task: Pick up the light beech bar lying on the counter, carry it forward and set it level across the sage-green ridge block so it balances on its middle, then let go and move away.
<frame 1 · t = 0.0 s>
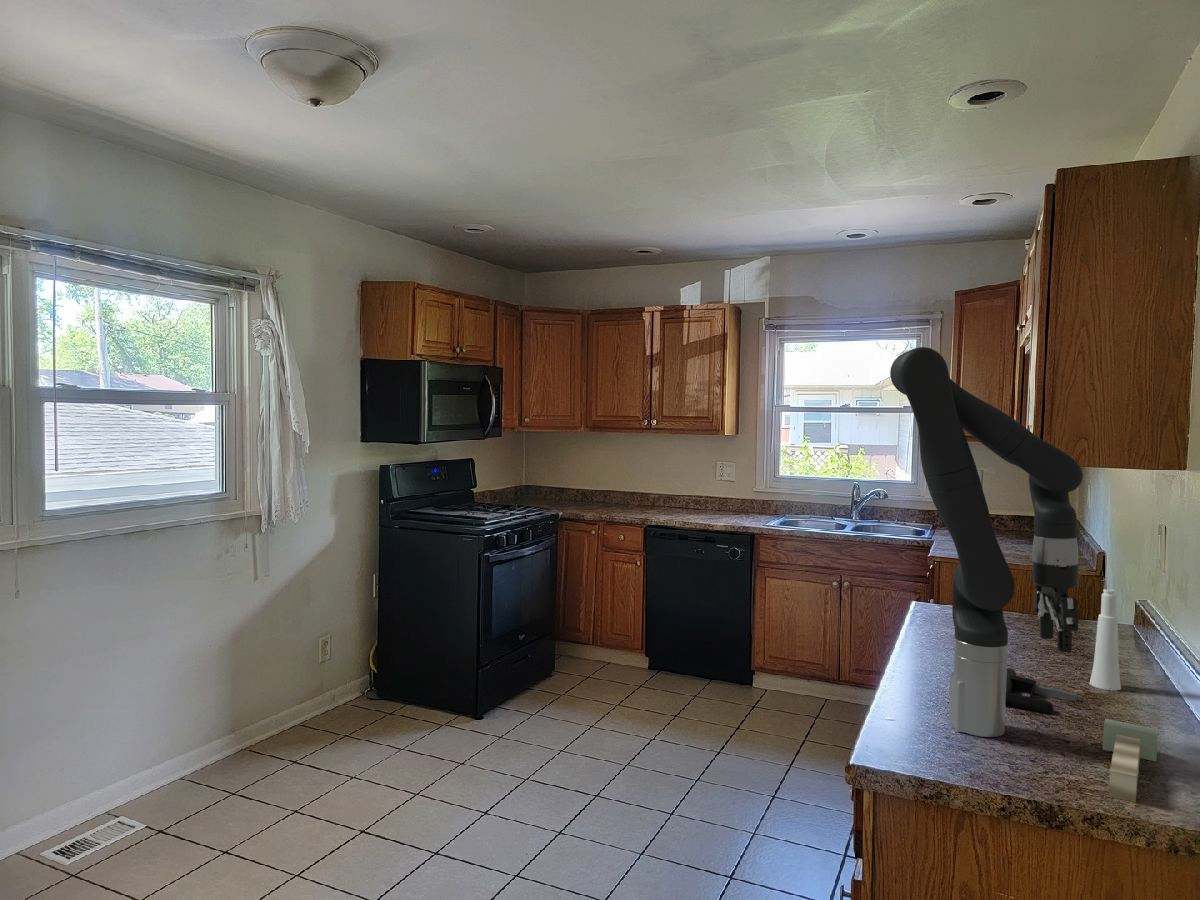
hand: (1055, 644, 149), 17 cm above the worktop, tool pointing down, fingers open, 8 cm apart
bar: (1124, 780, 131), on the worktop
cosmetic bottle: (1105, 687, 177), on the worktop
ridge: (1129, 750, 142), on the worktop
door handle: (1032, 699, 170), on the worktop
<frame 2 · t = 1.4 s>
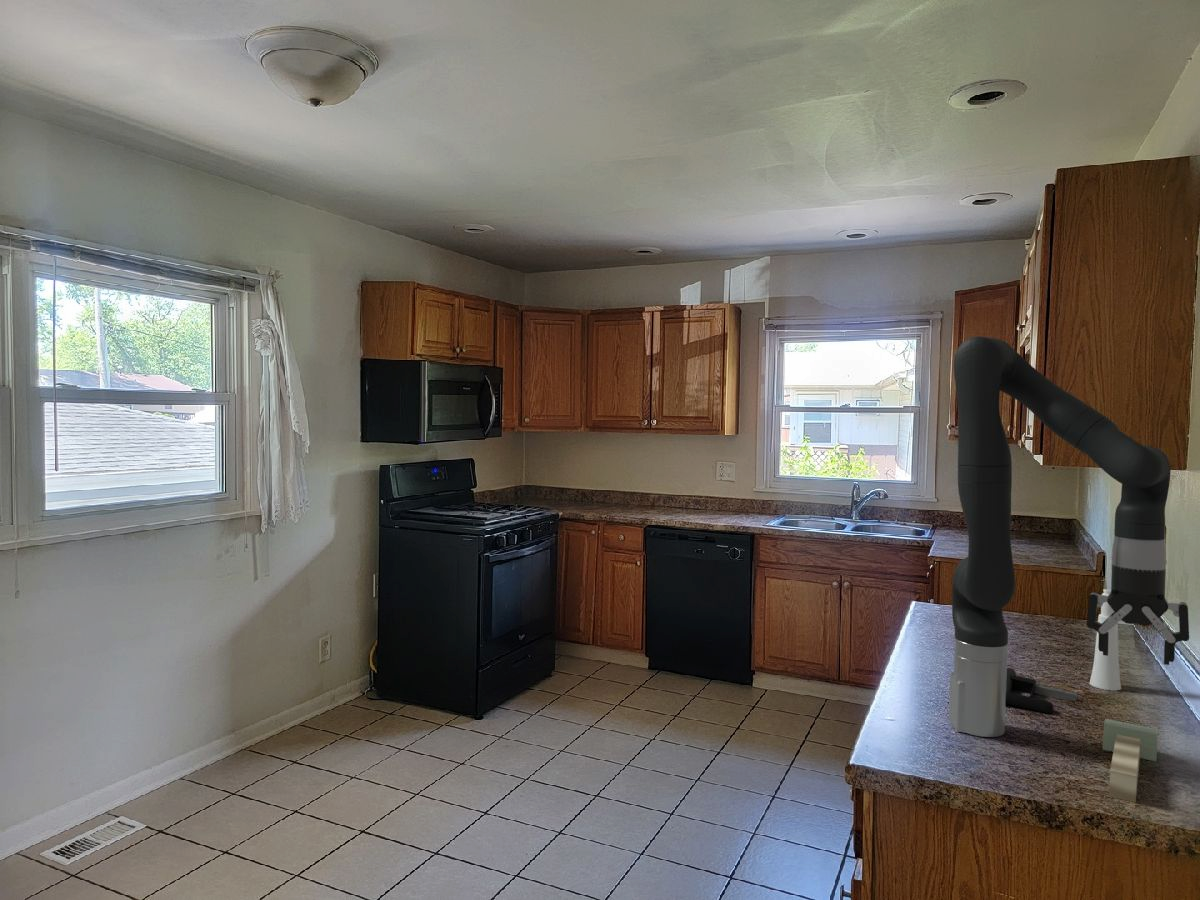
hand: (1135, 659, 133), 20 cm above the worktop, tool pointing down, fingers open, 8 cm apart
nothing on the worktop moved.
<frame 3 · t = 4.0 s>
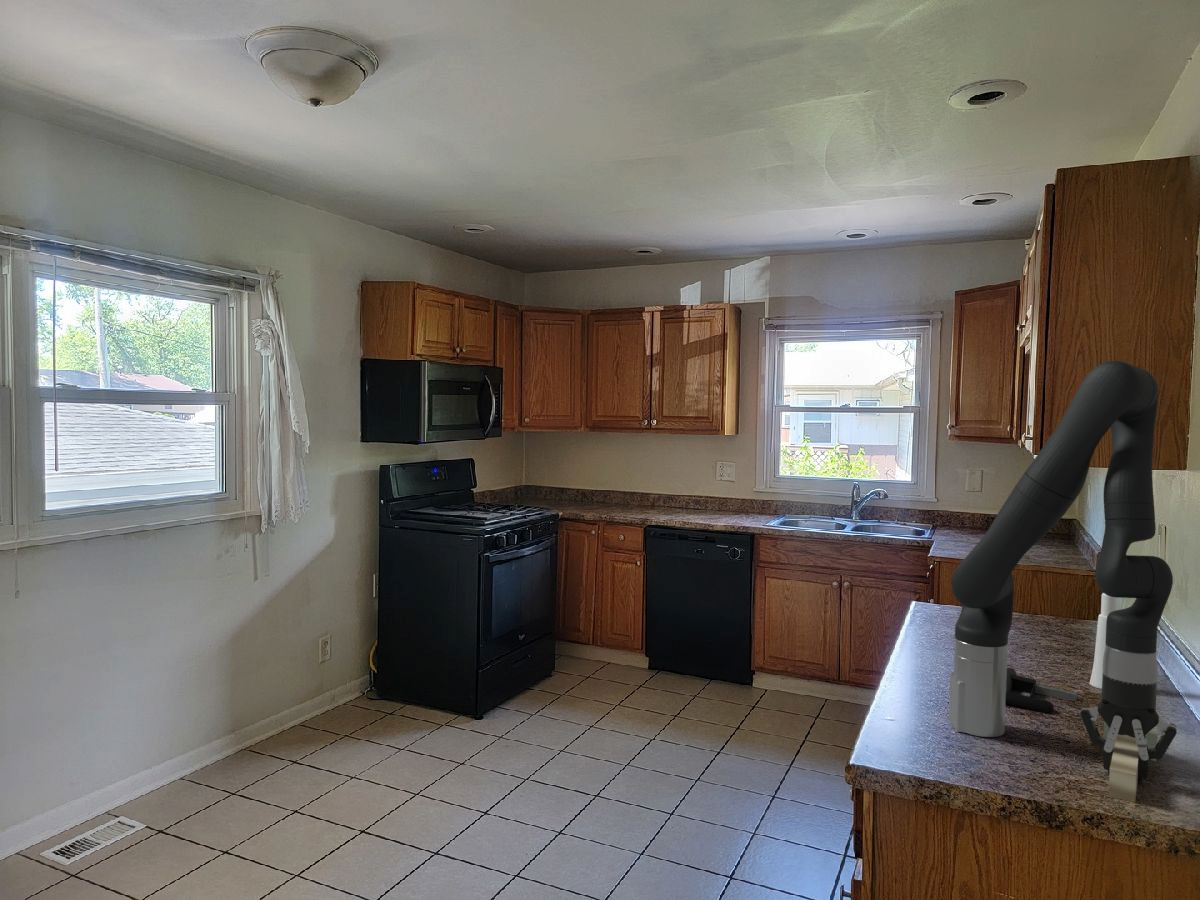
hand: (1125, 775, 131), 1 cm above the worktop, tool pointing down, fingers closed on bar, 3 cm apart
bar: (1124, 779, 131), on the worktop, touching gripper
everything else where it was.
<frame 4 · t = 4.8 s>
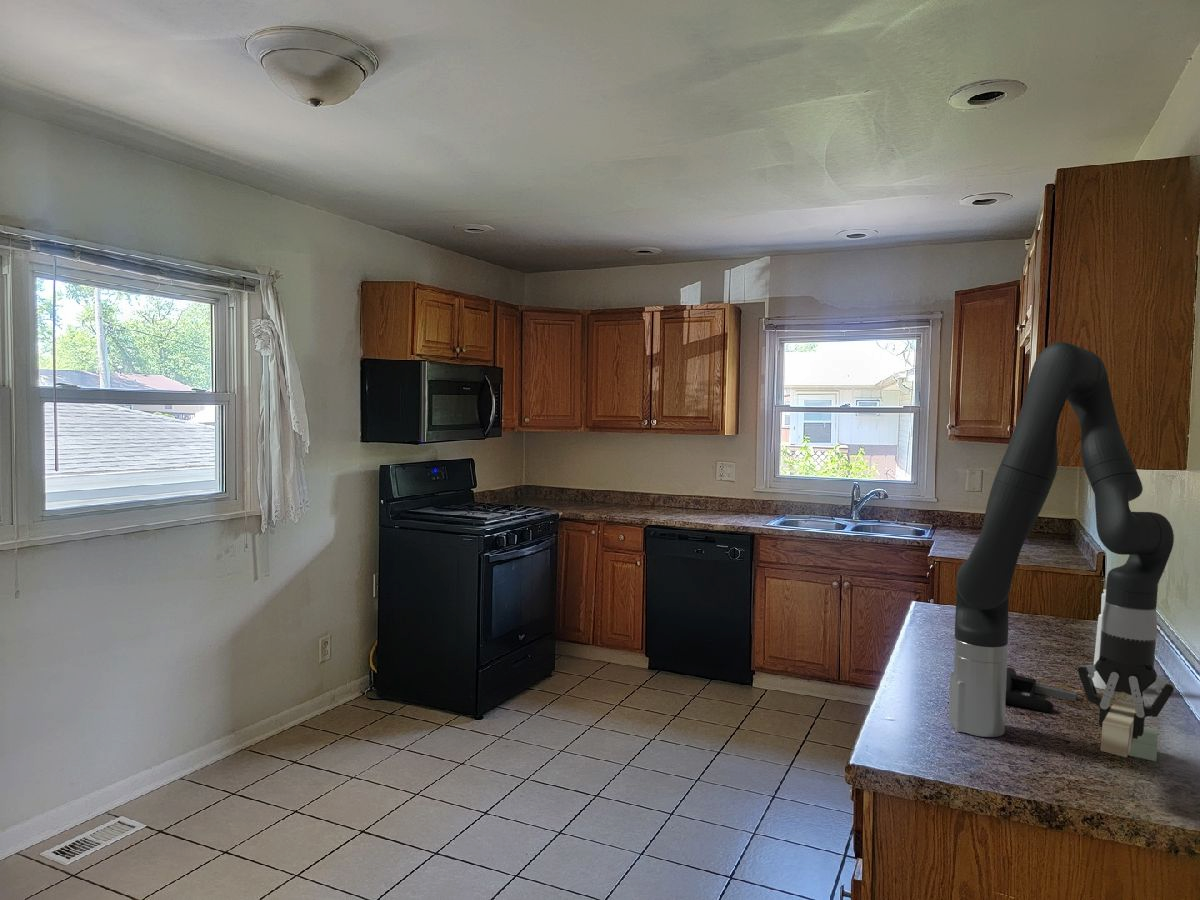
hand: (1120, 733, 131), 8 cm above the worktop, tool pointing down, fingers closed on bar, 3 cm apart
bar: (1119, 740, 130), point 7 cm above the worktop, touching gripper
everything else where it was.
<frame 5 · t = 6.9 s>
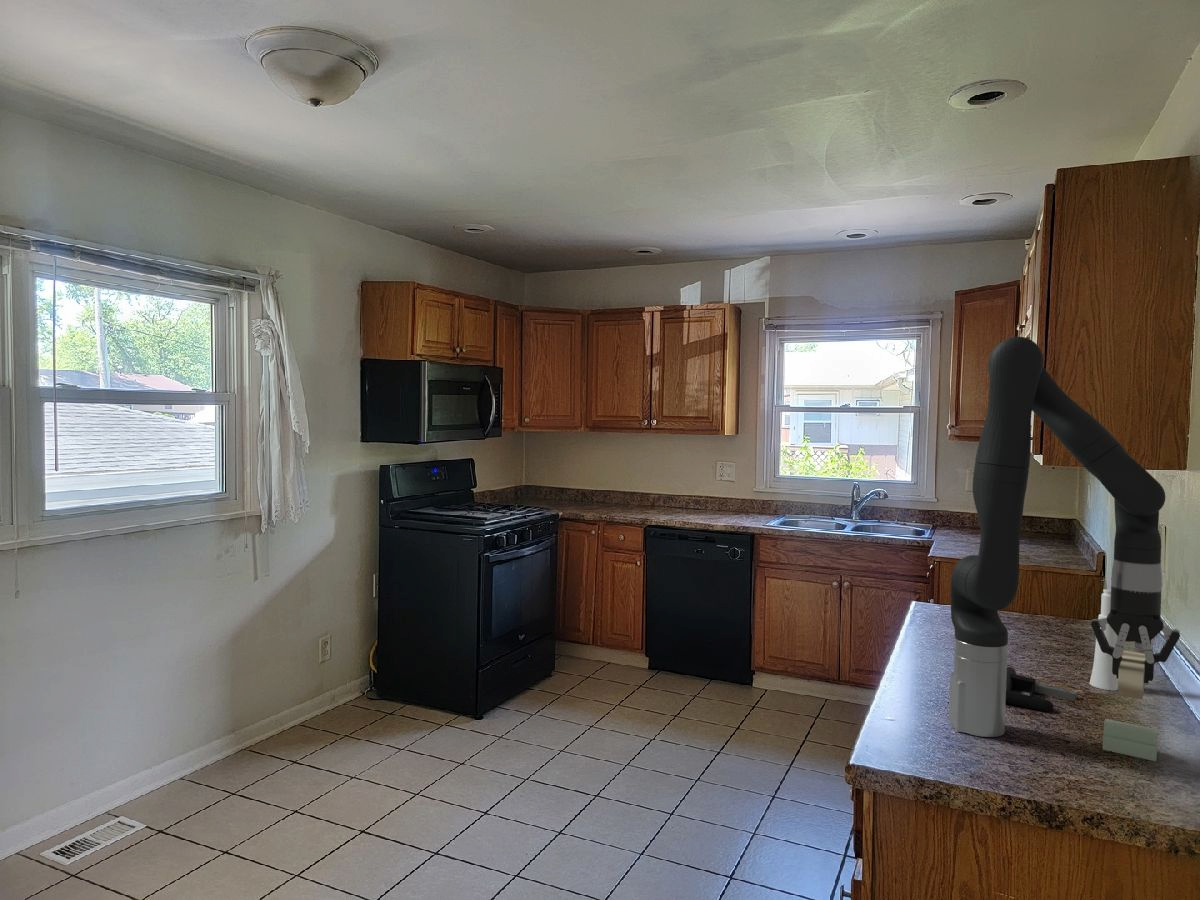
hand: (1132, 679, 142), 13 cm above the worktop, tool pointing down, fingers closed on bar, 3 cm apart
bar: (1132, 686, 142), point 12 cm above the worktop, touching gripper
everything else where it was.
when the fingers open (6 cm above the worktop, at t = 8.3 s): bar stays where it is, resting on ridge.
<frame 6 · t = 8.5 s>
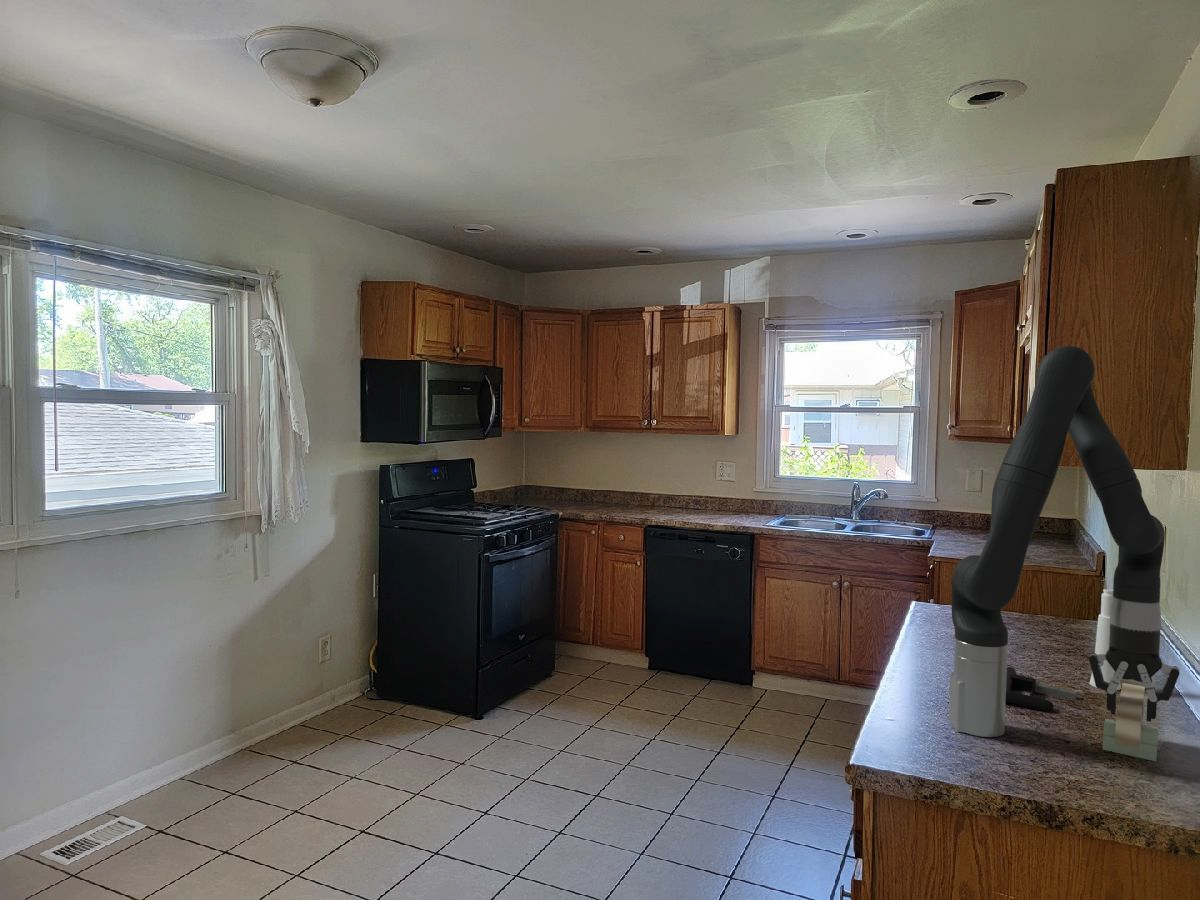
hand: (1131, 716, 142), 6 cm above the worktop, tool pointing down, fingers open, 4 cm apart
bar: (1130, 726, 142), point 5 cm above the worktop, touching ridge
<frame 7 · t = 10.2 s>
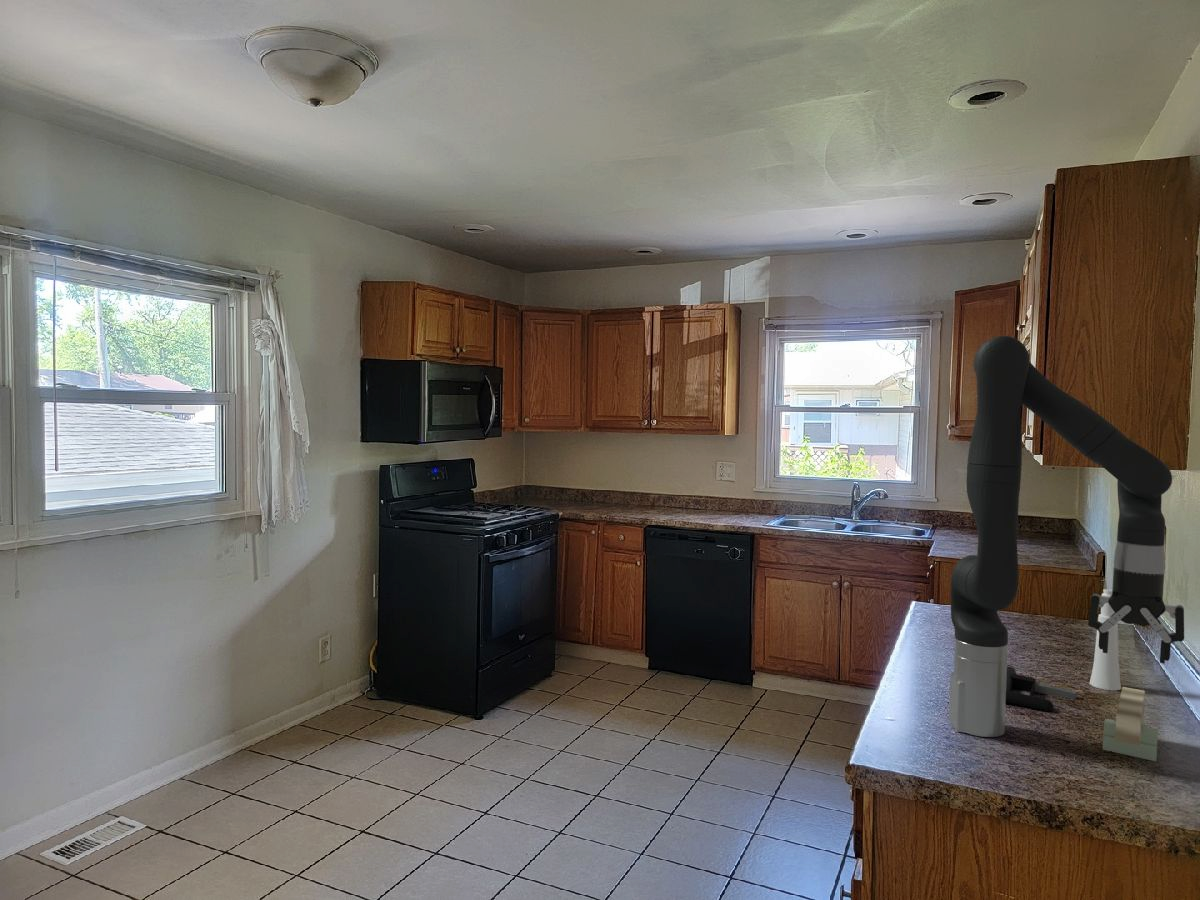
hand: (1133, 657, 142), 17 cm above the worktop, tool pointing down, fingers open, 8 cm apart
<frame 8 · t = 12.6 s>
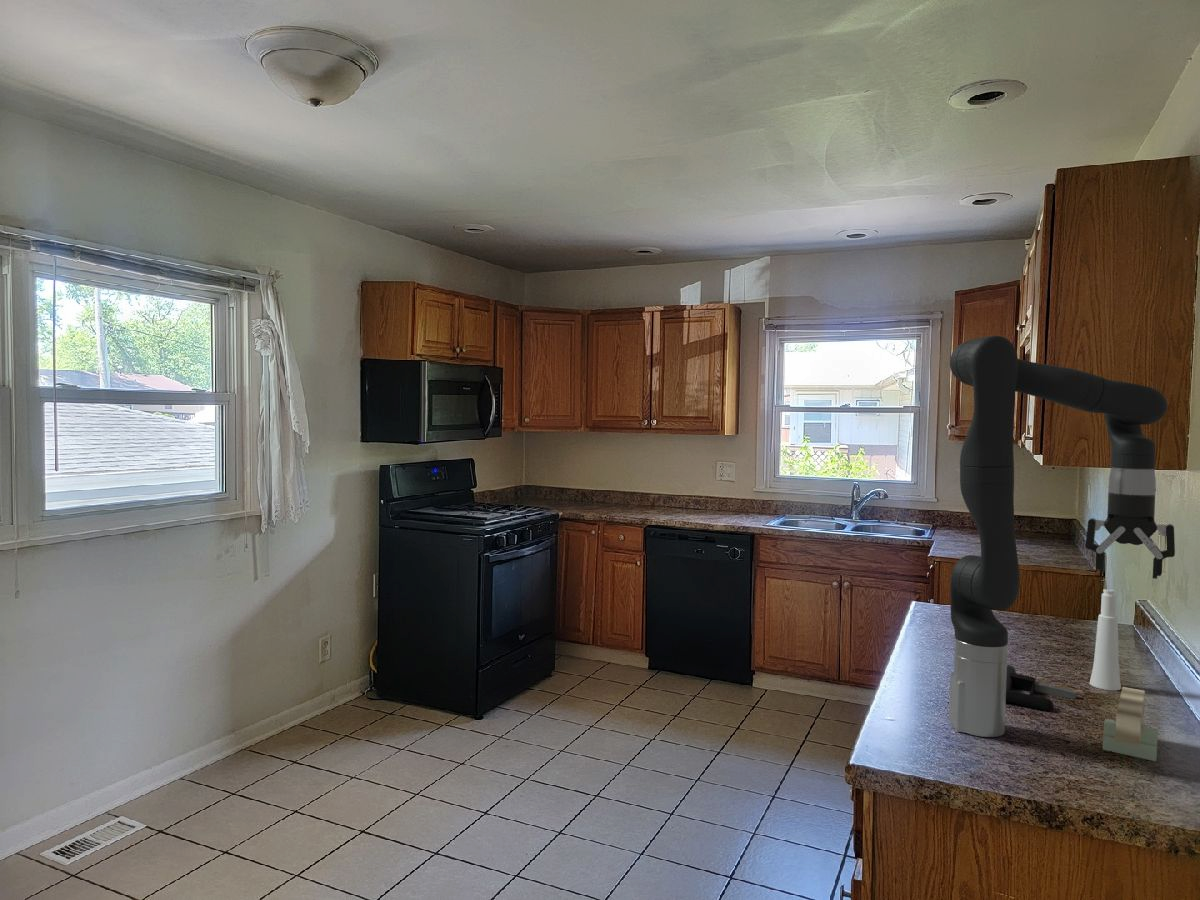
hand: (1128, 575, 152), 30 cm above the worktop, tool pointing down, fingers open, 8 cm apart
at the end: bar 0.3 cm off-centre on the ridge, point 4.5 cm above the ridge's base; bar touching ridge; bar tilted 0° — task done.
